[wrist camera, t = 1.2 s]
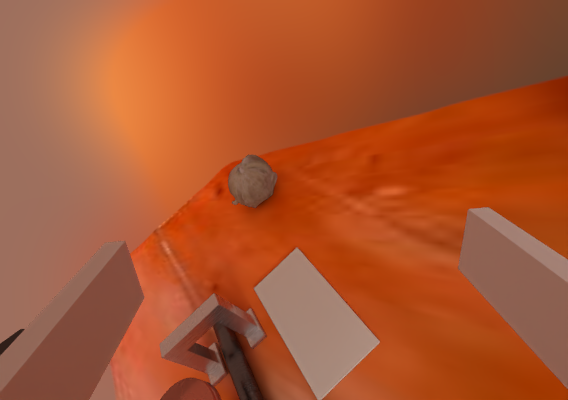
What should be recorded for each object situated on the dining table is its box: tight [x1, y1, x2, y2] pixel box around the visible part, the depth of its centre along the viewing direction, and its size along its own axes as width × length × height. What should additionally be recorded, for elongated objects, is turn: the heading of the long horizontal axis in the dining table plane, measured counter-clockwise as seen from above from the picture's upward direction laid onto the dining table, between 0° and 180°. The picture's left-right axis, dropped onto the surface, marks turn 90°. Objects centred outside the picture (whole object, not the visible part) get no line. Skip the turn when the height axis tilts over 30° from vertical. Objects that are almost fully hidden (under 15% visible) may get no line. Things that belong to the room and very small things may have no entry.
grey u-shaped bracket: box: [160, 293, 267, 386], centre depth 40 cm, size 9×5×9 cm, turn 123°
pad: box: [254, 248, 380, 400], centre depth 40 cm, size 9×18×1 cm, turn 33°
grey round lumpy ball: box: [228, 155, 277, 208], centre depth 57 cm, size 9×8×10 cm
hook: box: [160, 322, 263, 400], centre depth 35 cm, size 7×24×14 cm, turn 33°
